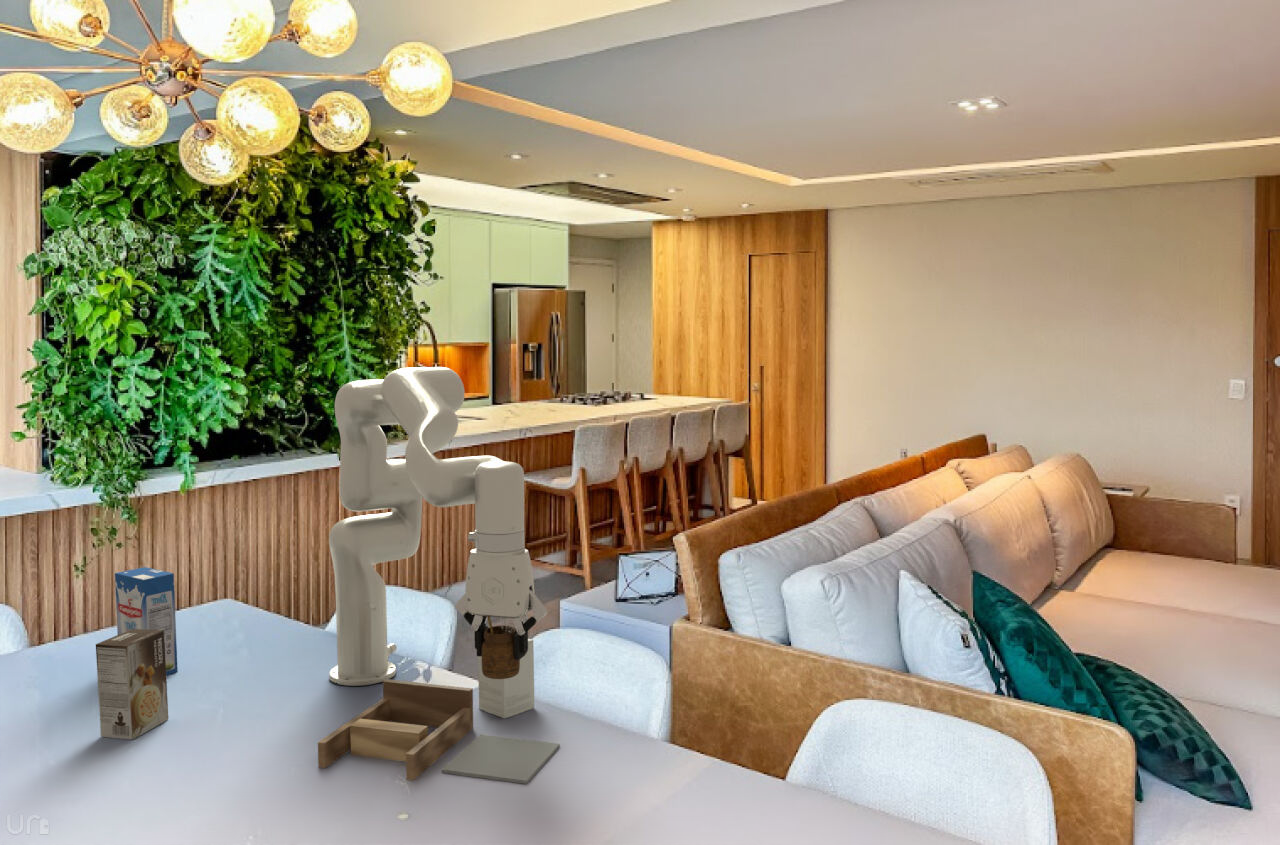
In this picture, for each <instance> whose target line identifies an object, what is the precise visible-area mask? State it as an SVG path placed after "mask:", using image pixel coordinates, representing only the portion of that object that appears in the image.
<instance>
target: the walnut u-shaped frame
mask: <svg viewBox="0 0 1280 845" xmlns="http://www.w3.org/2000/svg"><path fill="white" fill-rule="evenodd" d="M473 692H474V688H470V687H463V686H451V685H443V684H437V683H436V684H435V683H425V682H417V681H416V682H415V681H407V680H397V679H391V678H390V679H386V680H384V681H383V682H382V694H383V695H382V696H383V698H381V699H380V700H379V701H377V702H375V703H374V704H372V705H371V706H369V707H368V708H367V709H365V710H364V711H362V712H361V713H360V714H358V715H356V716H355V717H353V718H351V719H350V720H349V721H347V722H346V723H344V724H342V725H341V726H340V727H338V728H337V729H335V730H334V731H332V732H331V733H329V734H328V735H326V736H324V737H323V738H322V739H320V740H319V741H317V756H318V757H317V759H318V761H317V763H318V768H323V769H327V767H329V766H330V765H333V763H334V762H336V761H337V760H339V759H340V758H342V756H343V757H344V756H345V755H346V754H347V753H348V752H349V751H350V752H351V738H350V725H352V724H353V723H355V722H356V721H357V720H359V719H368V720H377V721H386V722H395V723H404V724H413V725H422V726H428V727H432V728H433V727H434V728H436V729H435V730H434V731H432V732H431V733H430V734H428V736H427V737H426V738H425V739H424V740H422V741H421V742H420V743H419V744H417V745H416V746H415V747H414V748H412V749H411V750H410V751H409V752H407V753H406V763H405V764H406V765H405V766H406V767H405V769H406V771H405V773H406V780H409V781H415V780H416V779H417V778H418V777H419V776H421V774H423V773H424V772H425V771H426V770H427V769H428V768H430V767H431V766H432V765H434V763H435V762H437V760H439V759H440V758H441V757H442V756H443V755H444V754H446V753H447V752H448V751H449V750H451V749H452V747H454V746H455V745H456V744H457V743H458V742H460V741H461V740H462V739H463V738H464V737H465V736H466V735H467V734H469V733H470V732H471V731H472V730H473V729H474V694H473Z"/></svg>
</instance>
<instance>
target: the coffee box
mask: <svg viewBox="0 0 1280 845" xmlns="http://www.w3.org/2000/svg"><path fill="white" fill-rule="evenodd" d="M95 653H96V654H95V655H96V657H95V658H96V675H97V690H98V708H99V709H98V710H99V724H100V725H99V727H100V737H101V738H109V739H121V740H122V739H123V740H132V741H133V740H135V739H136V738H138V737H140V736H142V735H143V734H145V733H147V732H149V731H150V730H152V729H154V728H155V727H158V726H159V725H160V724H163V723H164V722H166V721H168V720H169V705H168V703H169V701H168V682H167V676H166V661H165V643H164V630H146V629H131V630H129V631H127V632H124V633H122V634H119V635H118V634H117V635H114V636H112V637H110V638H108V639H105V640H103V641H101V642H98V643H95Z"/></svg>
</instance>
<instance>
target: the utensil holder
mask: <svg viewBox="0 0 1280 845" xmlns="http://www.w3.org/2000/svg"><path fill="white" fill-rule="evenodd" d="M486 617H488V618H487V620H488V621H487V622H488V628H487V629H485V631H484V639H485V640H484V642H483V644H482V672H483V675H484V676H485V677H488V678H491V679H507V678H511V677H514V676H516V675H517V674H518V673H519V669H520V660H515V659H514V635H516V634H517V630H516V627H515V624H514V621H513V619H512V621H511V622H512V623H513V625H512V623H511V625H509V624H510V622H507V623H506V624H505V625H504V624H502V622H504V620H505V618H502V619H500V625H492V620H491V617H490V616H486ZM507 624H508V625H507Z"/></svg>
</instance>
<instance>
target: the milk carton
mask: <svg viewBox="0 0 1280 845" xmlns="http://www.w3.org/2000/svg"><path fill="white" fill-rule="evenodd" d="M174 575H175V574H174V573H173V572H168V571H165V570H160V569H155V568H151V567H146V566H144V567H138V568H135V569H130V570H129V569H128V570H125V571H120V572H114V583H115V584H114V585H115V586H114V587H115V605H116V606H115V607H116V609H115V610H116V629H117V631H116V632H117V635H119V634H122V633H124V632H127V631H129V630H131V629H146V630H164V643H165V661H166V677H167V676H169V675H173V674H176V673H178V672H179V671H178V648H177V646H178V645H177V644H178V643H177V625H176V624H177V622H176V621H177V620H176V600H175V598H176V596H175V576H174Z"/></svg>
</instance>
